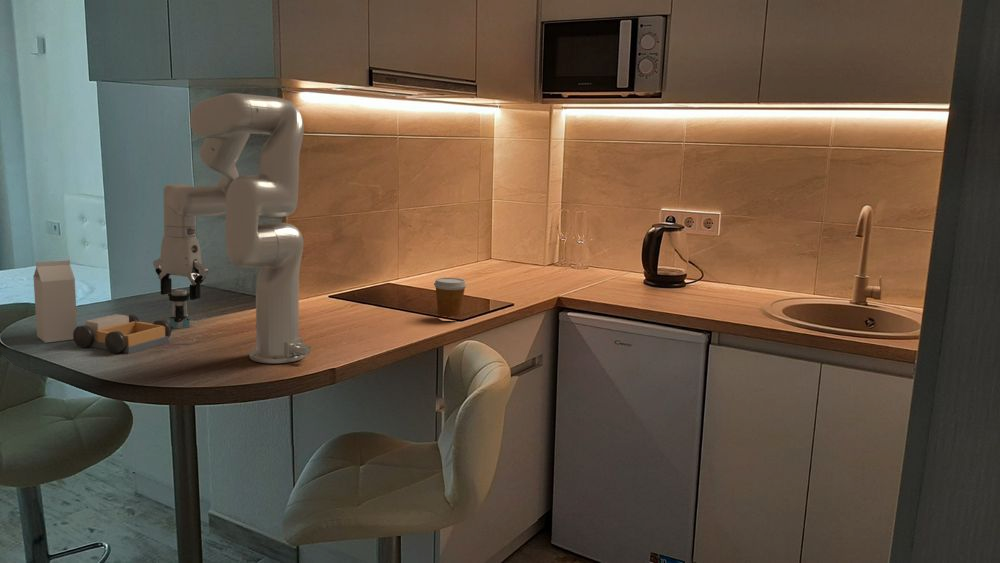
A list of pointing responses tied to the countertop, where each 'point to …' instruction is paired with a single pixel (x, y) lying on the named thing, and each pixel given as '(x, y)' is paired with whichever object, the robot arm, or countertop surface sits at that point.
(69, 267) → the milk carton
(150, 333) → the chassis
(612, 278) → the countertop surface
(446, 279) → the disposable coffee cup
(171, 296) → the push button
